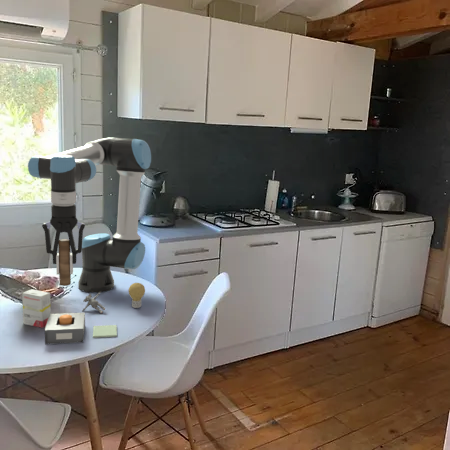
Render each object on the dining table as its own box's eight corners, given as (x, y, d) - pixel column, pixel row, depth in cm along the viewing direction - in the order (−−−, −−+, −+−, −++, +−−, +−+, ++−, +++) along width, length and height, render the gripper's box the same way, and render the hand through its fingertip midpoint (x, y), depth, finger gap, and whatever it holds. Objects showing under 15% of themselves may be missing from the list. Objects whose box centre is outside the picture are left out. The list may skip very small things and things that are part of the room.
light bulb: (141, 311, 190) (141, 287, 187) (125, 309, 191) (126, 285, 189) (147, 305, 196) (147, 281, 193) (132, 303, 197) (132, 279, 195)
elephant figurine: (91, 318, 181) (75, 304, 185) (96, 323, 187) (80, 310, 190) (110, 298, 185) (94, 285, 188) (114, 304, 190) (98, 291, 194)
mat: (93, 327, 174) (93, 326, 173) (116, 326, 175) (116, 324, 175) (92, 337, 166) (92, 336, 166) (116, 336, 168) (116, 334, 168)
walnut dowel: (60, 282, 164) (59, 239, 161) (71, 281, 165) (70, 239, 162) (58, 285, 161) (58, 242, 157) (70, 285, 162) (69, 242, 158)
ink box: (52, 323, 175) (51, 292, 173) (42, 328, 171) (41, 296, 168) (32, 318, 178) (31, 288, 175) (22, 323, 173) (21, 292, 171)
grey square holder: (49, 327, 172) (49, 313, 171) (85, 325, 175) (84, 312, 174) (45, 344, 160) (44, 330, 158) (83, 342, 162) (83, 328, 161)
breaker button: (60, 322, 168) (60, 314, 167) (72, 322, 169) (72, 314, 168) (59, 327, 164) (58, 319, 163) (71, 327, 165) (71, 319, 164)
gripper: (34, 205, 151) (36, 277, 157) (89, 206, 155) (90, 276, 160) (37, 201, 158) (39, 269, 164) (90, 202, 162) (91, 268, 168)
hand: (64, 272), depth 162 cm, fingers closed on walnut dowel, 3 cm apart
